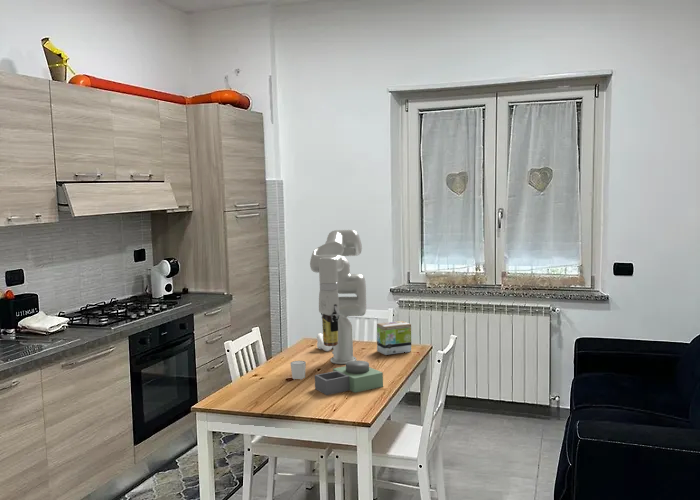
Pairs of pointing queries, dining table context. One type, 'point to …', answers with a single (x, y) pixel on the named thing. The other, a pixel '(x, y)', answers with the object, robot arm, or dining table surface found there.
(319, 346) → the white knot sculpture
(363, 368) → the grey and green blocks
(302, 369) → the shot glass
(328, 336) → the sauce bottle
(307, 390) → the dining table surface
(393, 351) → the tea box
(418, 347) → the dining table surface
